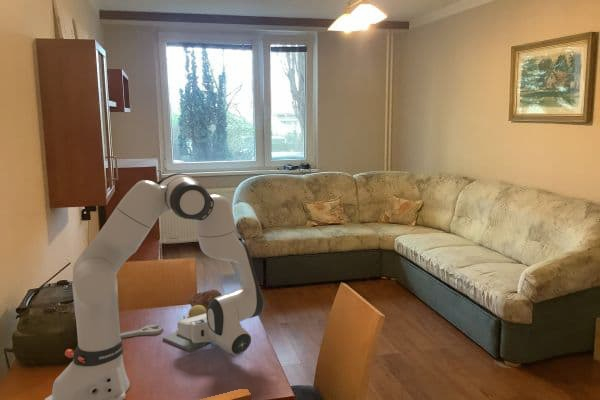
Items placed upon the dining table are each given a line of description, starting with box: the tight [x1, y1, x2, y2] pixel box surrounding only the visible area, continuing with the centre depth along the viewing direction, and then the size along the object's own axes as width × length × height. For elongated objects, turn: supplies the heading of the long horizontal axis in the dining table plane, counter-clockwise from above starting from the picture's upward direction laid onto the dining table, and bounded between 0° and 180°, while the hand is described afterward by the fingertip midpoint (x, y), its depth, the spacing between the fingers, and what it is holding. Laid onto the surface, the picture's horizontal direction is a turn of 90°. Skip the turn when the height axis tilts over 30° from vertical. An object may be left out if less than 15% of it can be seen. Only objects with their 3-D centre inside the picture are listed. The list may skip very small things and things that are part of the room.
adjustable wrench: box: [120, 324, 164, 339], centre depth 181 cm, size 25×6×2 cm, turn 110°
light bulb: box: [187, 305, 207, 317], centre depth 179 cm, size 6×6×10 cm
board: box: [162, 328, 209, 352], centre depth 180 cm, size 20×14×2 cm
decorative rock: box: [188, 289, 222, 311], centre depth 197 cm, size 13×11×10 cm
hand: (197, 313), depth 179 cm, fingers open, 8 cm apart
